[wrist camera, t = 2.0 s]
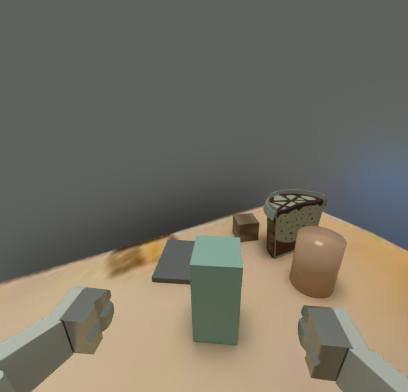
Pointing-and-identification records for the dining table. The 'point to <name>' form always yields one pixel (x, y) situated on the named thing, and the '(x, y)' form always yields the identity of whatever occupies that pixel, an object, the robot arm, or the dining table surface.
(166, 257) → the mat
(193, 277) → the tall green rectangular block
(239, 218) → the walnut cube
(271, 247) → the food container
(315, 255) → the tan rounded cylinder
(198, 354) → the dining table surface
